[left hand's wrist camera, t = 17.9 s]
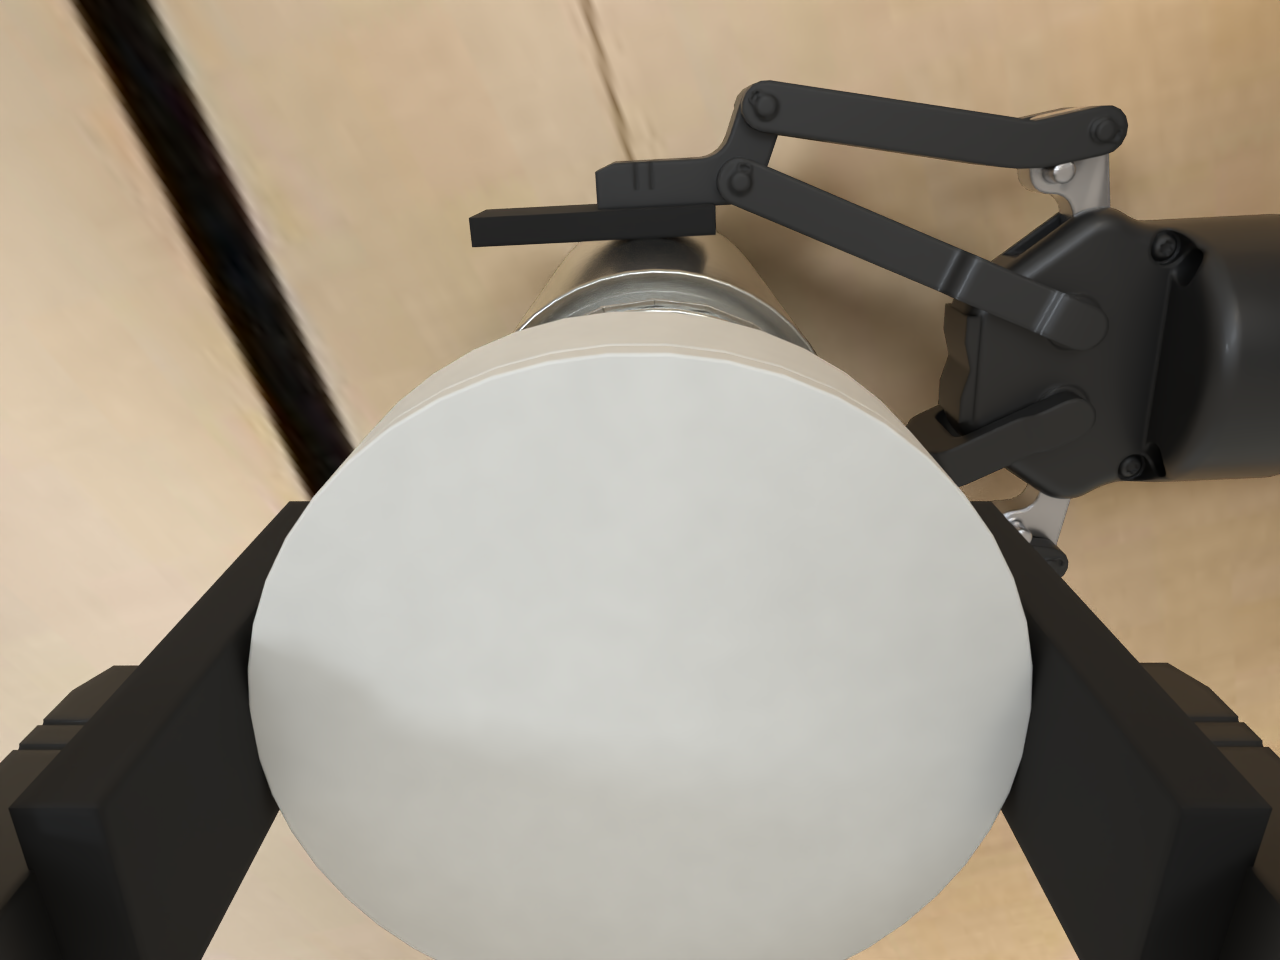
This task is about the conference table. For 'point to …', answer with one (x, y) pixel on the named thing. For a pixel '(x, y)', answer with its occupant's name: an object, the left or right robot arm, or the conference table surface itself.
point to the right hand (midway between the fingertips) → (497, 383)
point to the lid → (640, 656)
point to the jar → (663, 284)
